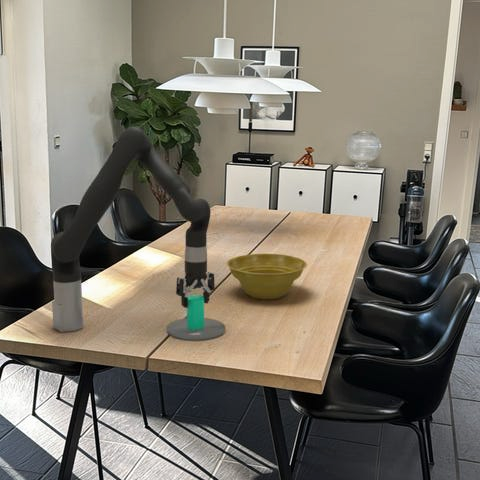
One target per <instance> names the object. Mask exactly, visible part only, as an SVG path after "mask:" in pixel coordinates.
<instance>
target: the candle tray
mask: <svg viewBox="0 0 480 480" xmlns="http://www.w3.org/2000/svg"><path fill="white" fill-rule="evenodd" d="M166 333H167V334H168V335H169V337H172V338H173V339H177V340H182V341H187V342H188V341H190V342H198V341H209V340H214V339H216V338H219V337H222V336H223V335H224V334H225V333H226V324H224V323H223V322H222V321H219V320H217V319H214V318H208V317H204V328H203V329H200V330H191V329H188V328H187V317H186V318H185V317H184V318H180V319H176V320H173V321H171V322H170V323H168V325H167V326H166Z"/></svg>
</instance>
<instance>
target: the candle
mask: <svg viewBox="0 0 480 480" xmlns="http://www.w3.org/2000/svg"><path fill="white" fill-rule="evenodd" d="M187 297H188V307H187V308H186V318H187V328H188V329H191V330H200V329H203V328H204V318H205V303H204V297H203V295H200V294H197V295H196V293H195V294H193V295H192V294H191V295H188V296H187Z"/></svg>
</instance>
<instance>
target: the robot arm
mask: <svg viewBox="0 0 480 480" xmlns="http://www.w3.org/2000/svg"><path fill="white" fill-rule="evenodd" d="M133 159H135V160H136V161H137V162H139V163H140V165H142V166H143V167H145V168H146V169H147V171H148V172H149V173H150V174H151V176H152V177H154V179H155V181H156V183H157V184H158V185H159V187H160V188H161V189H162V190H163V191H164V192H165V193H166V194H167V195H168V197H169V198H171V200H172V201H173V203H174V205H175V207H176V209H177V211H178V212H179V214H180V216H181V217H182V218H183V219H184V220H186V221H187V222H190V226H189V227H188V228H187V229H186V231H185V249H184V274H185V275H184V277H177V278H176V288H175V289H176V291H175V295H177V296H179V297H180V298H181V301H180V302H181V306H182V307H183V308H185V309H187V307H188V297H189V295H190V293H192V291H193V290H196V289H202V290H203V291H202V296H203V297H204V304H209V302H210V293H211V291H214V290H215V287H216V286H215V285H216V284H215V274H214V273H213V272H210V271H208V248H207V233H208V229H209V224H210V220H211V219H210V218H211V207H210V203H209V202H208V201H207V200H206V199H204V198H196V199H193V198H192V196H191V195H190V194H191V188H190V187H189V185H188V184H187V183H186V182H185V180H184V179H182V177H181V176H180V174H179V173H177V172H176V171H175V170H174V169H173V167H171V166H170V165H169V164H168V163H167V162H166V161H165V160H164V159H163V158H162V156H161V155H160V154H159V152H158V150H156V148H155V146H154V145H153V143H152V142H151V140H150V137H149V136H148V134H146V132H144V130H142V129H141V128H139V127H138V126H130V127H127V128H126V129H125V130H123V131H122V133H121V134H120V135H119V138H118V139H117V141H116V143H115V145H114V147H113V149H112V151H111V153H110V155H109V156H108V158H107V159H106V161H105V162H104V164H103V166H102V167H101V168H100V170H99V171H98V173H97V175H96V176H95V178H94V179H93V180H92V182H91V183H90V185H89V186H88V188H87V189H86V191H85V192H84V194H83V196H82V198H81V201H80V203H79V205H78V207H77V211H76V213H75V215H74V217H73V219H72V221H71V223H70V224H69V225H68V227H67V228H66V230H64V231H59V232H58V233H56V234H55V235H54V237H53V238H52V239H51V242H50V256H51V258H50V259H51V270H52V280H53V296H54V297H53V299H54V300H52V301H51V306H52V307H51V308H52V324H53V325H52V326H53V329H55V330H57V331H58V332H59V333H64V332H65V333H66V332H69V333H70V332H75V331H79V330H81V329H83V327H84V316H83V314H84V313H83V293H82V292H83V291H82V271H81V264H80V254H81V253H82V251H83V249H84V247H85V244H86V243H87V241H88V239H89V237H90V235H91V234H92V232H93V230H94V229H95V227H96V226H97V225H98V224H99V222H101V220H102V218H103V217H104V215H105V214H106V213H107V211H108V210H109V208H110V207H111V205H112V204H113V202H114V201H115V199H116V197H117V196H118V194H119V191H120V189H121V185H122V182H123V179H124V176H125V172H126V170H127V169H128V167H129V166H130V164H131V163H132V161H133ZM206 280H207V282H206Z"/></svg>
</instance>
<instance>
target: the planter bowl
mask: <svg viewBox="0 0 480 480" xmlns="http://www.w3.org/2000/svg"><path fill="white" fill-rule="evenodd" d="M226 266H227V267H228V268H229V270H230V273H231V275H232V277H234V279H236V280H238V281H239V284H240V286H241V288H242V290H243V291H244V292H245V293H246V294H247V295H248V296H250V297H251V298H254V299H257V300H275V299H280V298H282V297H283V296H285V295H287V293H288V292H289V290H290V289H291V287H292V286H293V284H294V282H295V281H296V280H298V279H299V278H300V277H301V276H302V273H303V271H304V269H306V267H307V266H308V264H307V261H305V260H304V259H302V258H299V257H296V256H292V255H287V254H280V253H250V254H243V255H240V256H239V255H238V256H235V257H232V258H230V259H228V260H227V261H226Z"/></svg>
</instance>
